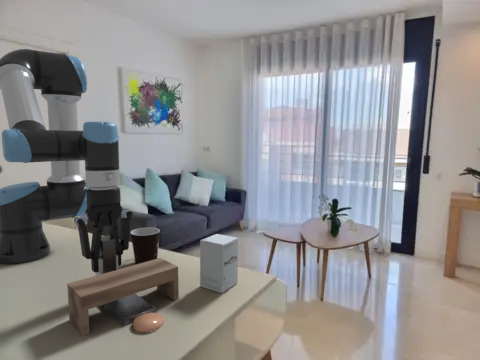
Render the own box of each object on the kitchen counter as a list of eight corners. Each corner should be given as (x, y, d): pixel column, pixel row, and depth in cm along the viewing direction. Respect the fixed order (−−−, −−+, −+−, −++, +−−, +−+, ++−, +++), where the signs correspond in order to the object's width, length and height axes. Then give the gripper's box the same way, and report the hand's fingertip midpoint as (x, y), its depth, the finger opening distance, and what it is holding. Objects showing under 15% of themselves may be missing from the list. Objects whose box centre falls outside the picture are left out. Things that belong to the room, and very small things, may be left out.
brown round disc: (127, 331, 67) (127, 325, 67) (144, 316, 73) (144, 310, 73) (153, 336, 65) (153, 330, 65) (168, 320, 71) (168, 315, 71)
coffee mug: (152, 269, 97) (152, 236, 96) (126, 266, 99) (124, 234, 98) (169, 255, 109) (168, 225, 108) (144, 253, 110) (143, 224, 109)
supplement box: (222, 294, 83) (222, 244, 81) (199, 286, 86) (199, 239, 85) (238, 283, 89) (239, 237, 87) (216, 276, 93) (216, 232, 91)
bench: (69, 319, 70) (67, 283, 69) (161, 287, 86) (160, 257, 85) (83, 336, 65) (81, 297, 64) (178, 298, 80) (178, 266, 79)
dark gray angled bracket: (90, 294, 82) (87, 239, 80) (118, 286, 86) (116, 233, 85) (124, 325, 68) (122, 259, 67) (155, 312, 73) (153, 251, 72)
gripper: (72, 193, 71) (78, 297, 74) (142, 185, 82) (144, 276, 85) (61, 189, 76) (67, 286, 79) (128, 182, 88) (131, 268, 91)
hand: (107, 281), depth 82 cm, fingers open, 3 cm apart
